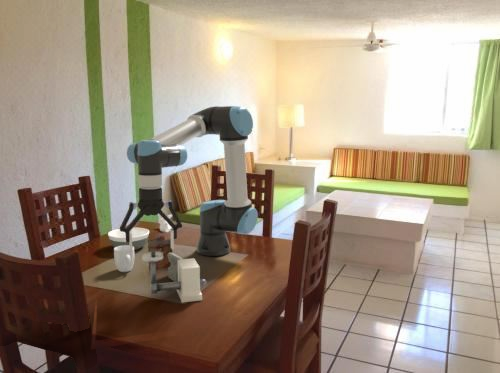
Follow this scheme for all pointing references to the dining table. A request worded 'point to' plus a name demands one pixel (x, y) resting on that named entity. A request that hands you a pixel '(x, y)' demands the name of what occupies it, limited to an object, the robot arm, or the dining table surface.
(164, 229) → the rabbit figurine
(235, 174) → the robot arm
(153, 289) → the l-shaped grey rod
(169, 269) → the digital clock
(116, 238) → the bowl
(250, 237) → the dining table surface
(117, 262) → the mug
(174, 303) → the dining table surface
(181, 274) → the white upright block
